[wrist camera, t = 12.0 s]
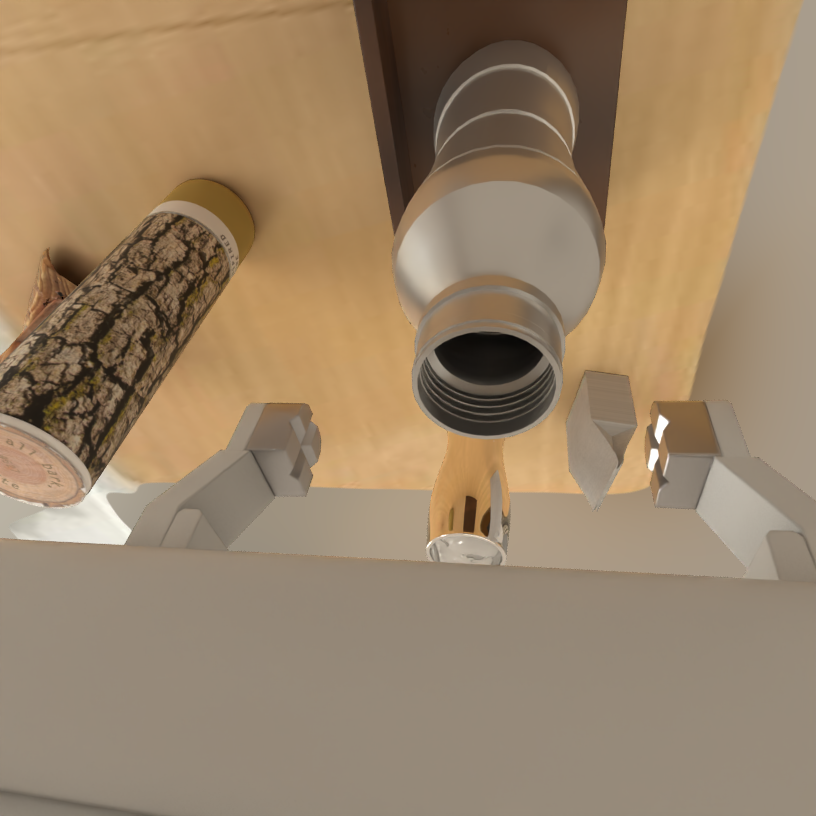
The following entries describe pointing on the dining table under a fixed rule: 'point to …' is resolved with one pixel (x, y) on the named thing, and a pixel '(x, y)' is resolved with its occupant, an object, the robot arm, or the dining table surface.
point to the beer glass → (470, 504)
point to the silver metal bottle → (498, 245)
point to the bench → (455, 42)
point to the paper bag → (599, 432)
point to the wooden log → (114, 344)
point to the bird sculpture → (42, 299)
